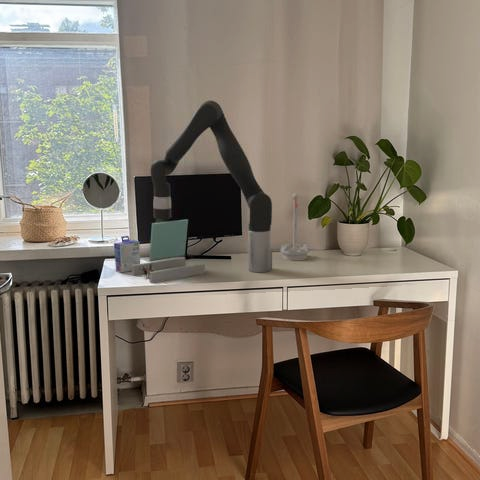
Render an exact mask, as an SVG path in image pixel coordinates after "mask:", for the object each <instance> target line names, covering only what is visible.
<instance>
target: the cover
mask: <svg viewBox="0 0 480 480" xmlns="http://www.w3.org/2000/svg"><path fill="white" fill-rule="evenodd" d="M188 224H189V219H180V220H171V221H170V220H169V222H160V223H156V222H152V223H151V229H150V230H151V232H150V233H151V234H150V246H149V260H148V262H155V261H162V260H168V259H174V258H181V257H185V255H186V245H187V237H188V236H187V235H188V226H189V225H188Z"/></svg>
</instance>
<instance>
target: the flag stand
mask: <svg viewBox="0 0 480 480" xmlns="http://www.w3.org/2000/svg"><path fill="white" fill-rule="evenodd" d="M299 198H300V195H299V194H298V192H297V193H293V194H292V199H293V229H292V231H293V234H292V235H293V238H292V239H293V241H292V242H293V245H292V246H291V243H287V244H285V243H284V245H280V252H281V254H282V259H284V260H286V261H304V260H306V259H307V257H308V256H307V255H308V254H309V252H310V247H309V245H307V244H303V245H302V246H301V244H300V243H297V238H298V237H297V236H298V235H297V232H298V231H297V228H298V199H299Z"/></svg>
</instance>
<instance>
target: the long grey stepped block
mask: <svg viewBox="0 0 480 480" xmlns="http://www.w3.org/2000/svg"><path fill="white" fill-rule="evenodd" d="M149 264H152V267H153V269H154V270H153V272H150V276H149V282H150V283H151V284H153V283H159V282H164V281H169V280H175V279H179V278H180V279H181V278H185V277H190V276H191V277H192V276H197V275H203V274H206V272H205V271H206V264H205V263H196V264H190V265H186V257H185V256H182V257H175V258H169V259H162V260H156V261H148V262H142V263H140V264H136V265H132V270H131V276H132V275H133V276H137V275H143V274H144V275H145V273H144V272H143V271H142V270H140V269H139V268H141V269H143V266H144V268H145V269H146V267H147V269H149V268H150V267H149ZM138 267H139V268H138Z"/></svg>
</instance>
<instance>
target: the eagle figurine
mask: <svg viewBox="0 0 480 480" xmlns="http://www.w3.org/2000/svg"><path fill="white" fill-rule="evenodd" d="M149 267H150V268H149V269H147V267H146V269H145V268H144V266H143V269H141V268H139V267H138V268H139V269H140V270H142V271H143V272H144V273H145V274H144V275H145V277H146V280H148V279H150V272H153V270H154V269H153V267H152V264H149Z"/></svg>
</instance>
